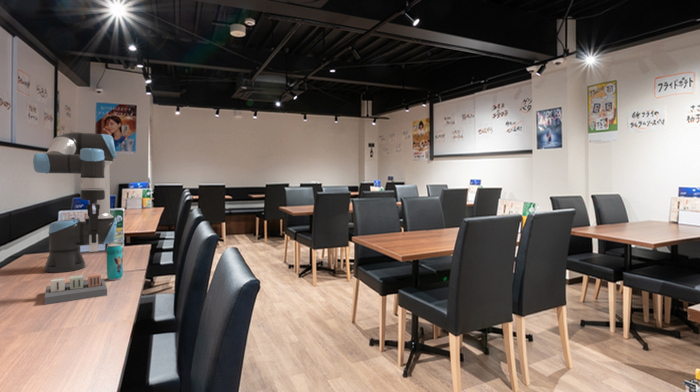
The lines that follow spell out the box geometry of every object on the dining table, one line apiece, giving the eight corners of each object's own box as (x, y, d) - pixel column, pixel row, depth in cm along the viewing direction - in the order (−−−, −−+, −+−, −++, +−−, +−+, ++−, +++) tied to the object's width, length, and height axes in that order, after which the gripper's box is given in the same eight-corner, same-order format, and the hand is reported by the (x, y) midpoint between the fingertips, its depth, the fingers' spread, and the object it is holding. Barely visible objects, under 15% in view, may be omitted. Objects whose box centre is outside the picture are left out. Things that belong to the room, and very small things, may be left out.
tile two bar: (69, 287, 138) (69, 276, 138) (83, 285, 141) (82, 274, 141) (69, 289, 135) (69, 279, 135) (83, 287, 137) (83, 277, 137)
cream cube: (51, 289, 135) (50, 278, 135) (64, 287, 137) (64, 277, 137) (50, 292, 132) (50, 281, 132) (64, 290, 134) (64, 279, 134)
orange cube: (87, 284, 142) (87, 274, 141) (100, 282, 144) (100, 272, 144) (88, 287, 138) (88, 276, 138) (101, 285, 141) (100, 275, 141)
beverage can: (115, 281, 155) (114, 246, 154) (103, 280, 156) (103, 245, 156) (126, 277, 161) (125, 243, 160) (114, 276, 162) (114, 243, 161)
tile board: (46, 292, 139) (46, 286, 139) (103, 284, 150) (103, 278, 150) (44, 304, 126) (44, 297, 126) (107, 295, 137) (107, 288, 137)
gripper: (80, 188, 142) (81, 249, 143) (81, 190, 132) (82, 255, 133) (103, 188, 147) (104, 247, 148) (106, 189, 137) (107, 252, 138)
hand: (93, 250), depth 141 cm, fingers closed
